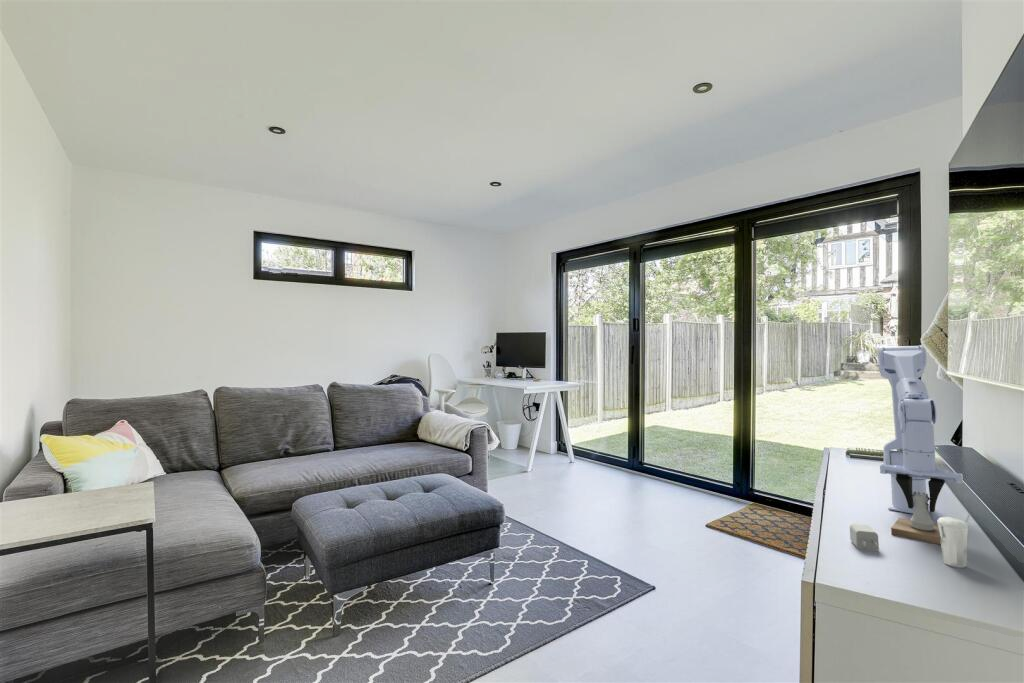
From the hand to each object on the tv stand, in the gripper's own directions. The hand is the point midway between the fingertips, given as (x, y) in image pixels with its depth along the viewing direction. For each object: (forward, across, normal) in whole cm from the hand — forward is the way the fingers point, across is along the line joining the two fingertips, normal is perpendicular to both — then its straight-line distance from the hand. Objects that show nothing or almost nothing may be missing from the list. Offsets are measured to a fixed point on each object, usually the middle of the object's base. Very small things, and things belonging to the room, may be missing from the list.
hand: (921, 509), depth 110 cm
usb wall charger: (+6, -7, -19) cm, 21 cm away
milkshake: (+6, +7, -16) cm, 18 cm away
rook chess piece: (+4, 0, 0) cm, 4 cm away
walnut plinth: (+6, 0, 0) cm, 6 cm away
